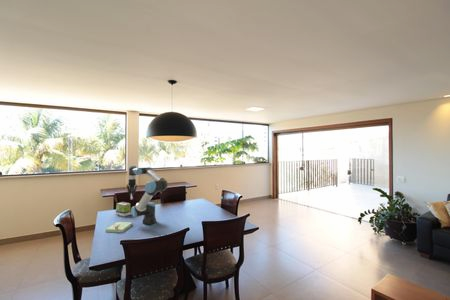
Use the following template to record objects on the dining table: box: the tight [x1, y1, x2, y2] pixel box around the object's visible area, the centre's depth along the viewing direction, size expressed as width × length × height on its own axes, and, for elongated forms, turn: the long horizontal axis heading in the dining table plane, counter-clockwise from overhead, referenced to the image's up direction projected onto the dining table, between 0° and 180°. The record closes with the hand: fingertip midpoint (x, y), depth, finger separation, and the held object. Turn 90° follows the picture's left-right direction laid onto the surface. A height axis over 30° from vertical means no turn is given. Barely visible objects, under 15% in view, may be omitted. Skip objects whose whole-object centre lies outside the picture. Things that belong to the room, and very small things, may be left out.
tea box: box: [115, 201, 131, 217], centre depth 269 cm, size 15×10×15 cm
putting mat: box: [105, 221, 134, 234], centre depth 222 cm, size 17×22×3 cm
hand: (131, 199), depth 243 cm, fingers closed
